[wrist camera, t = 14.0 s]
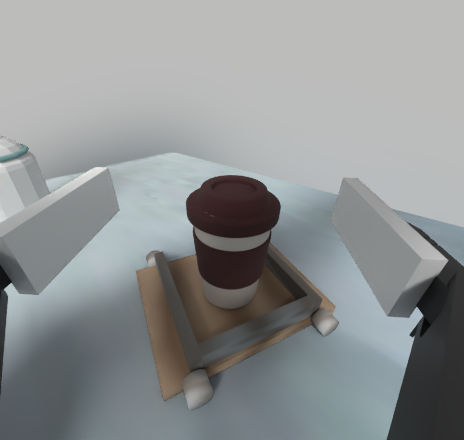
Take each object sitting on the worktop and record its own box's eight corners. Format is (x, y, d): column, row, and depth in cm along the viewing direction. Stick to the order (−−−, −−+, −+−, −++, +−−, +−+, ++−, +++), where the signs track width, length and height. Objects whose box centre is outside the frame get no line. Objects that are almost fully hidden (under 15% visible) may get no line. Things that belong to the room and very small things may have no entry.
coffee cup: (237, 255, 37) (243, 165, 29) (281, 297, 30) (304, 193, 23) (180, 280, 32) (169, 179, 24) (217, 336, 25) (218, 220, 18)
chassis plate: (256, 236, 45) (258, 218, 42) (344, 326, 29) (355, 305, 27) (135, 269, 36) (131, 249, 34) (169, 426, 20) (164, 406, 18)
